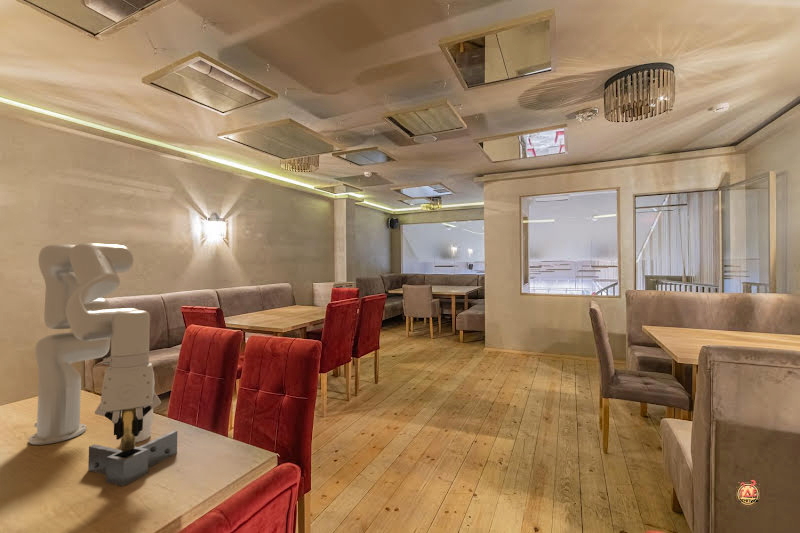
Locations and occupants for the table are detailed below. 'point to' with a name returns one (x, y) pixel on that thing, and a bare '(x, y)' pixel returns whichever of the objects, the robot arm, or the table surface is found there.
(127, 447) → the hinge pin
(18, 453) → the table surface
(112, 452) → the hinge body
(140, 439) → the white cup
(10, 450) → the table surface
